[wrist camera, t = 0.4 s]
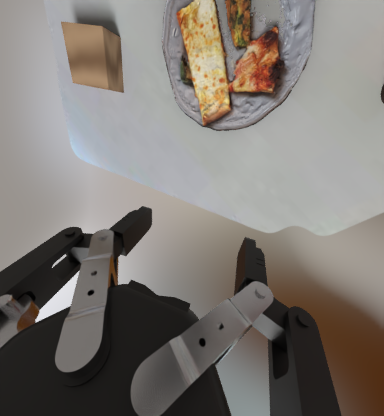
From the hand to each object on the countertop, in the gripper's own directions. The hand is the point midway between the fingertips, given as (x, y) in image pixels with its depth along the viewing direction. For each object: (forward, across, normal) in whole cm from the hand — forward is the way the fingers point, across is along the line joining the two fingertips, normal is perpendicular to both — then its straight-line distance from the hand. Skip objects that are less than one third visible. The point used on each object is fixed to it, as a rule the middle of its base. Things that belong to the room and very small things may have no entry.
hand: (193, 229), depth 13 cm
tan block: (+28, +31, -14) cm, 44 cm away
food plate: (+29, +4, -17) cm, 34 cm away
